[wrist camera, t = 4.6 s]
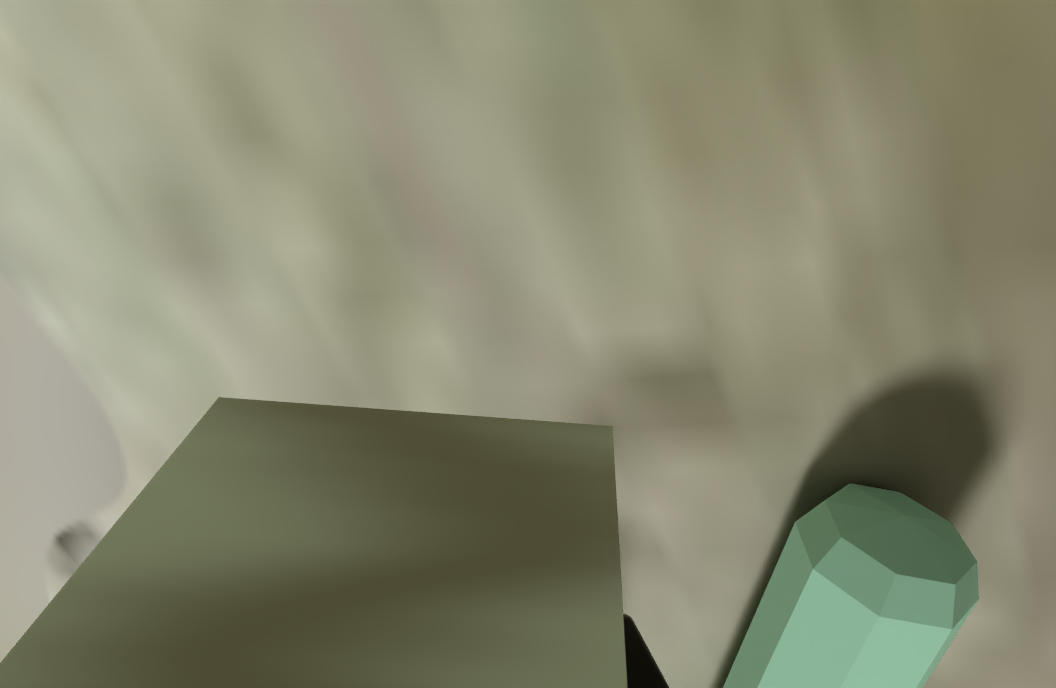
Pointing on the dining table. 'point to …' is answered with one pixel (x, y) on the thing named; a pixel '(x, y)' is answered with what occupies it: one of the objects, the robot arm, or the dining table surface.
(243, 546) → the sage block
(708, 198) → the dining table surface
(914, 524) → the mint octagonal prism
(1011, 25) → the dining table surface
